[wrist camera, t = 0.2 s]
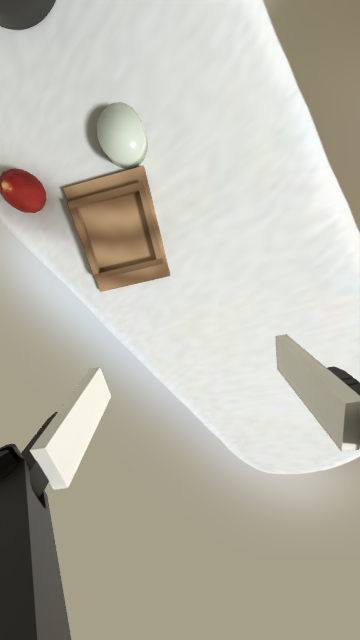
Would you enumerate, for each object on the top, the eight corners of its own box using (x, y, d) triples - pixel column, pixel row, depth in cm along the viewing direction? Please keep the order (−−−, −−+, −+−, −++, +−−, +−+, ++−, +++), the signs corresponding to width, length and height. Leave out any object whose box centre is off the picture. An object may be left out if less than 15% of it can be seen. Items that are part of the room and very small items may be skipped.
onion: (15, 195, 36) (-29, 181, 28) (34, 169, 34) (-6, 147, 27) (43, 222, 37) (8, 216, 30) (62, 198, 36) (31, 185, 28)
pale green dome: (97, 122, 32) (89, 110, 29) (140, 109, 32) (136, 96, 29) (112, 173, 35) (106, 167, 32) (152, 162, 34) (149, 154, 31)
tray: (66, 190, 35) (57, 185, 33) (144, 168, 34) (141, 162, 32) (102, 290, 41) (97, 293, 39) (170, 275, 40) (169, 276, 38)
